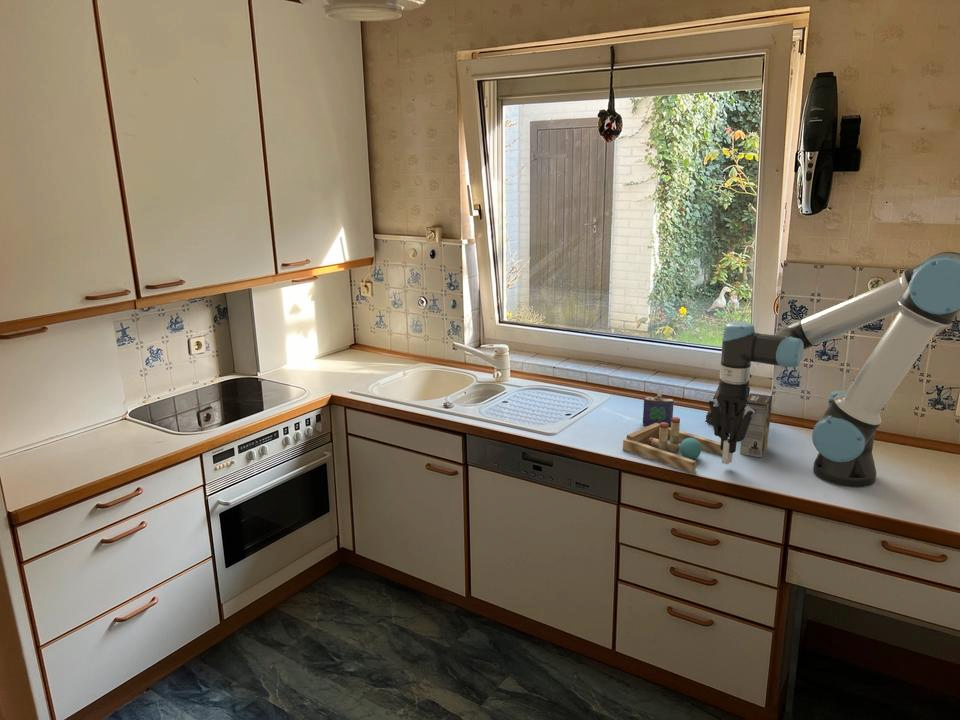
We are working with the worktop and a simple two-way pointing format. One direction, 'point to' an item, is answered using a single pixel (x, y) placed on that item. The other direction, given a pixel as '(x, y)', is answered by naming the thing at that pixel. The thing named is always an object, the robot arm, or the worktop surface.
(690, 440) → the ball
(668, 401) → the flask
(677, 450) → the pin front
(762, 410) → the coffee box
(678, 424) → the pin
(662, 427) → the pin
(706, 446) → the lane
